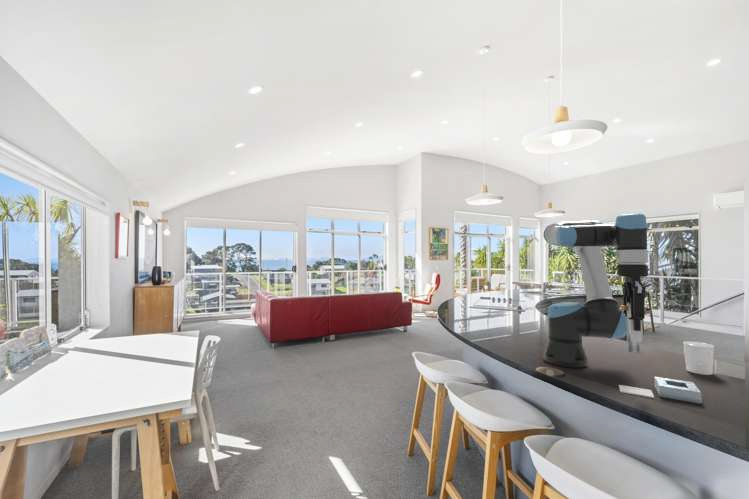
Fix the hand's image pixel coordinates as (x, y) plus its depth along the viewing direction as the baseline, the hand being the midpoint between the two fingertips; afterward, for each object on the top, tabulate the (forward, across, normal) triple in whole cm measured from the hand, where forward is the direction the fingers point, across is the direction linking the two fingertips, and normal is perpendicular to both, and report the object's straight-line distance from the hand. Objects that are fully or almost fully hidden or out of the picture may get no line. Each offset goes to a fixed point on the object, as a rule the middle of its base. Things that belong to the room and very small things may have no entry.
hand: (634, 339), depth 101 cm
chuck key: (+4, 0, 0) cm, 4 cm away
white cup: (+16, -31, +27) cm, 44 cm away
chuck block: (+16, -2, +10) cm, 19 cm away
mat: (+16, 0, 0) cm, 16 cm away
